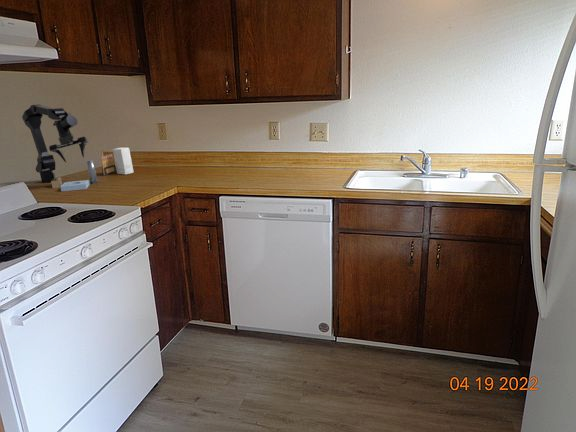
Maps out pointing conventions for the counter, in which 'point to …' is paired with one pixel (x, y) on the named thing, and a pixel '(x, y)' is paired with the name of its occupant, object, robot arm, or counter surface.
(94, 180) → the round bit
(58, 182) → the square bit
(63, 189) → the holder
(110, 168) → the brown flat upright board
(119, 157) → the skincare box
